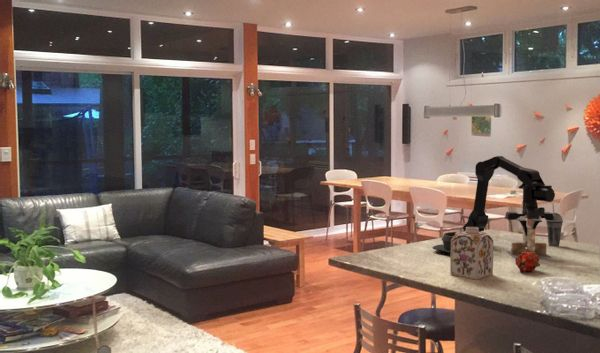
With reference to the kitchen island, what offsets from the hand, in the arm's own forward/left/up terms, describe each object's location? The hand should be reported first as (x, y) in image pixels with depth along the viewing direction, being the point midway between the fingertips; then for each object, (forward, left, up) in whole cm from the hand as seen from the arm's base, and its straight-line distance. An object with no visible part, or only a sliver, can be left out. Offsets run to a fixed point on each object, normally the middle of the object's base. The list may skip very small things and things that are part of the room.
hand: (528, 235), depth 268 cm
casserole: (-28, +3, -9) cm, 29 cm away
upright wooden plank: (0, 0, -5) cm, 5 cm away
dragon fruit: (-8, -30, -9) cm, 32 cm away
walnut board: (0, 0, -8) cm, 8 cm away
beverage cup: (+17, +23, -9) cm, 30 cm away
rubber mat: (0, 0, -9) cm, 9 cm away
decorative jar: (-30, -38, -9) cm, 49 cm away
